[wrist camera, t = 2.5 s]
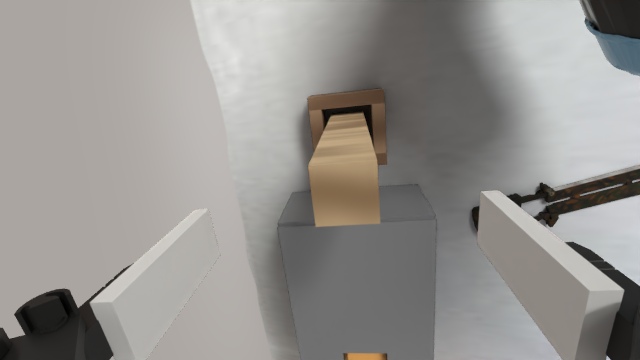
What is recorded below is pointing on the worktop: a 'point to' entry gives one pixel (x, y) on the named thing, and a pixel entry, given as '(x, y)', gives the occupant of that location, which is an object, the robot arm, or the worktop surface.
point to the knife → (575, 192)
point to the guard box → (362, 278)
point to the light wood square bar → (345, 173)
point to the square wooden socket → (347, 100)
